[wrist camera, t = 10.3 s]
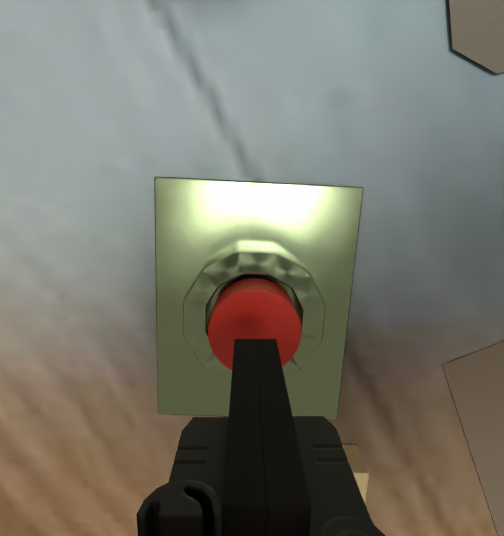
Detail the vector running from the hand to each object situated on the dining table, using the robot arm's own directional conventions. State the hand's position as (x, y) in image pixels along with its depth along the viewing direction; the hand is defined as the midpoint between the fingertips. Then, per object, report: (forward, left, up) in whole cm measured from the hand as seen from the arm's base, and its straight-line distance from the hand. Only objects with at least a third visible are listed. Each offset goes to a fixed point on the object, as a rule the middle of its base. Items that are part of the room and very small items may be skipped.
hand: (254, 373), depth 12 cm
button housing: (0, 0, -9) cm, 9 cm away
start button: (0, 0, -6) cm, 6 cm away
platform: (-22, -10, -9) cm, 26 cm away
